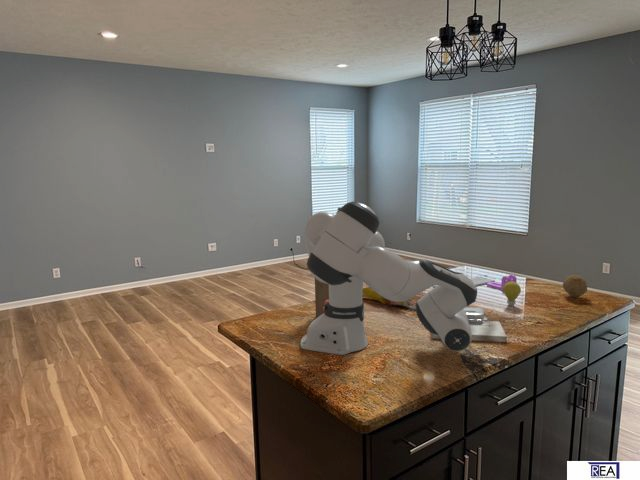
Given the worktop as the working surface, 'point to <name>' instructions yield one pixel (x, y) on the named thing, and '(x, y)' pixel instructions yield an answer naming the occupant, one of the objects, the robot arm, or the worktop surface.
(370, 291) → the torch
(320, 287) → the wooden block
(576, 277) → the natural sponge
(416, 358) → the worktop surface
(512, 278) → the bracket
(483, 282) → the baseboard molding
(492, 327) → the birch board
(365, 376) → the worktop surface
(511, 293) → the light bulb
